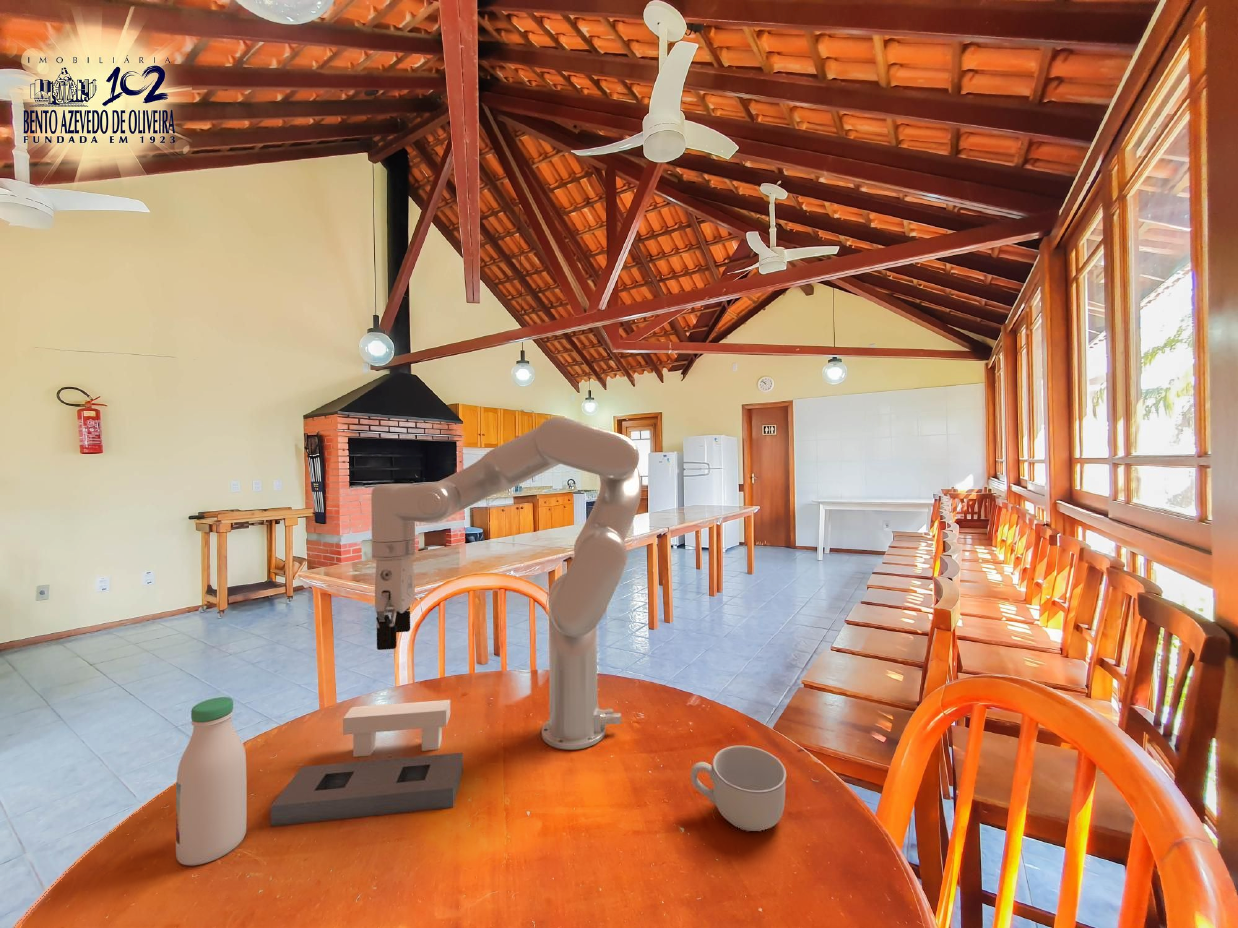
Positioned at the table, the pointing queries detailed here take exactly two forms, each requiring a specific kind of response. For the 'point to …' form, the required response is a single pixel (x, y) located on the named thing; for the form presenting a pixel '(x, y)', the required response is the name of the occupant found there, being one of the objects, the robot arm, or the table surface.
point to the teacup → (745, 786)
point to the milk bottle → (211, 786)
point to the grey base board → (369, 789)
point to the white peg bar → (396, 723)
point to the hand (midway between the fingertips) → (394, 639)
